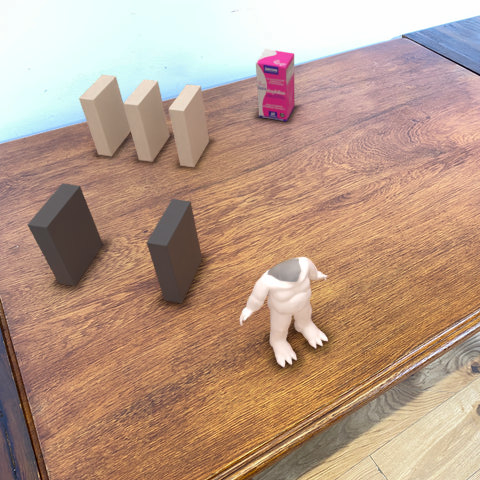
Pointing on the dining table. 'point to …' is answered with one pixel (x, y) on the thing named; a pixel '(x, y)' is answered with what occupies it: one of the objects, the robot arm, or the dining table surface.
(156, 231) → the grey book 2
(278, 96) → the supplement box
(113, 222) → the dining table surface
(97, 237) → the dark grey block
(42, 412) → the dining table surface
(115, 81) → the white book
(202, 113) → the white book
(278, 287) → the toy creature
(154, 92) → the white book
